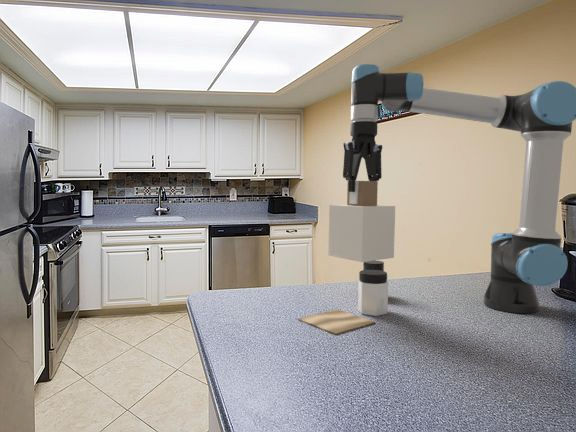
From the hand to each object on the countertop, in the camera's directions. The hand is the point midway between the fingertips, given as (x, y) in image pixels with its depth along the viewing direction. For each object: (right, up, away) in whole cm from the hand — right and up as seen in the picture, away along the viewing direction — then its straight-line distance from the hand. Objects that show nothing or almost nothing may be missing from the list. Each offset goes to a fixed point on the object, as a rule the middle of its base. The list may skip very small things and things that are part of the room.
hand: (362, 203), depth 119 cm
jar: (+4, -33, +5) cm, 33 cm away
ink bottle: (+8, -31, +22) cm, 39 cm away
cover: (0, -15, +1) cm, 15 cm away
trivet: (-8, -33, -4) cm, 34 cm away
